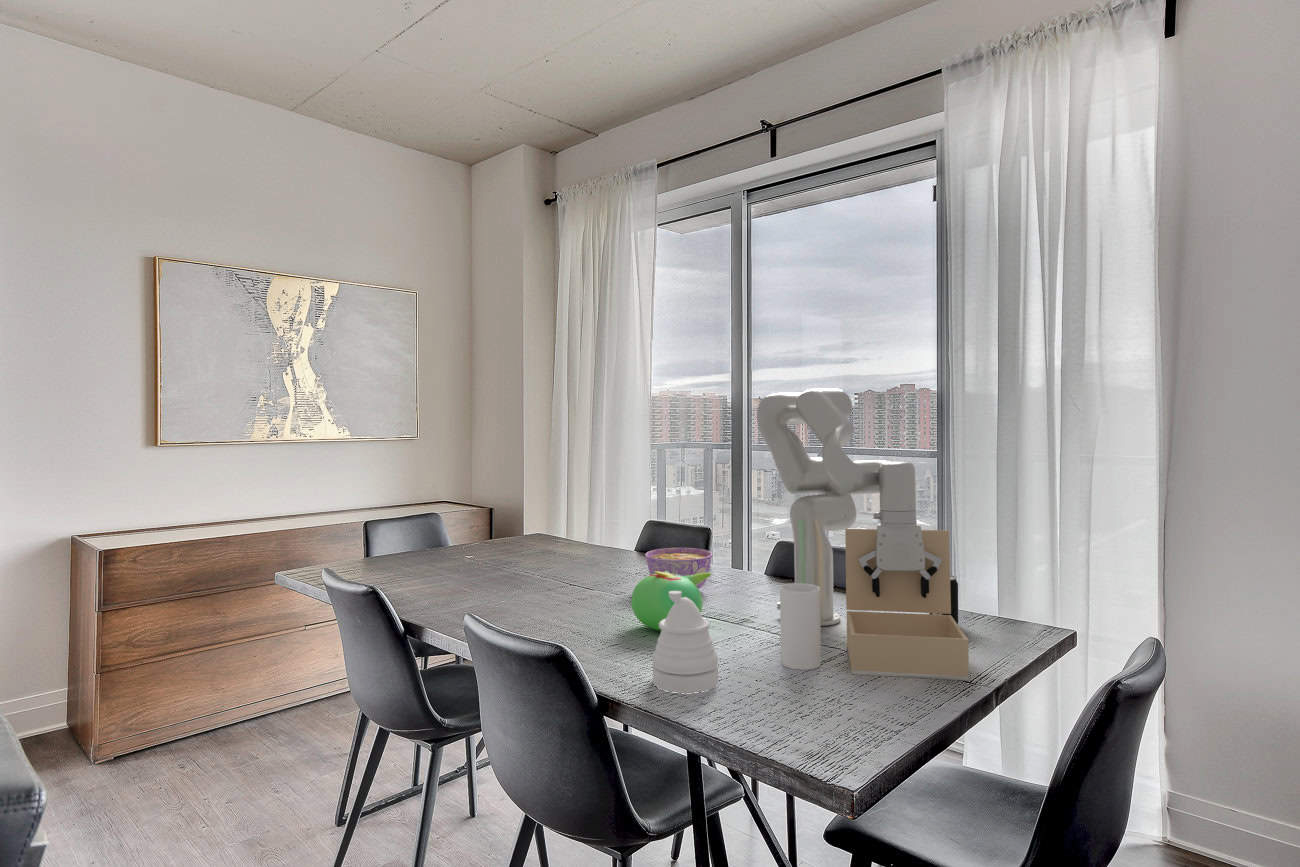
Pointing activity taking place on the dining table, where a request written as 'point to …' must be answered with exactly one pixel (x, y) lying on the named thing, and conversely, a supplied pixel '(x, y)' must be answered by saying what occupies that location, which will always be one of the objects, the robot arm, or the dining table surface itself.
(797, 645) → the cup
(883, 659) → the mailer box
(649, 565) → the bowl of food
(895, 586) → the lid
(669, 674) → the honey pot
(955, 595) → the beverage can
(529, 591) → the dining table surface
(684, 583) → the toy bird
